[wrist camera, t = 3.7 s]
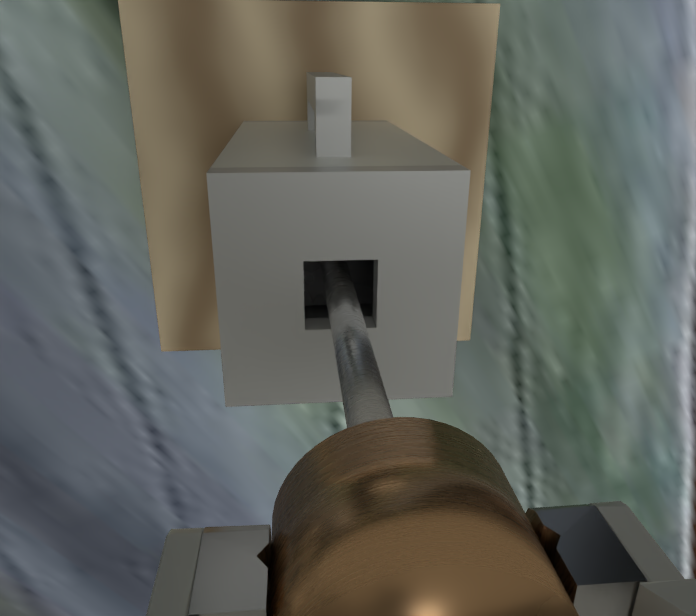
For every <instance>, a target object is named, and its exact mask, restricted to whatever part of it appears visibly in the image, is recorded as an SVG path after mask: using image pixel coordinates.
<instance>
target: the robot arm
mask: <svg viewBox="0 0 696 616" xmlns="http://www.w3.org/2000/svg"><path fill="white" fill-rule="evenodd" d="M525 514H526V516H527V518H528V520H529V521H530V523H531V525H532V527H533V529H534V531H535V533H536V535H537V537H538V539H539V540H540V542H541V544H542V546H543V548H544V550H545V552H546V554H547V556H548V558H549V559H550V561H551V563H552V565H553V567H554V569H555V571H556V573H557V575H558V577H559V578H560V580H561V582H562V584H563V586H564V588H565V590H566V592H567V594H568V596H569V597H570V599H571V601H572V603H573V605H574V607H575V609H576V611H577V613H578V614H579V616H696V579H684V577H683V576H682V575H681V574H680V572H679V571H678V570H677V568H676V567H675V566H674V565H673V563H672V562H671V561H670V559H669V558H668V557H667V556H666V554H665V553H664V552H663V551H662V549H661V548H660V547H659V545H658V544H657V543H656V542H655V540H654V539H653V538H652V536H651V535H650V534H649V533H648V531H647V530H646V529H645V527H644V526H643V525H642V524H641V522H640V521H639V520H638V518H637V517H636V516H635V515H634V513H633V512H632V511H631V509H630V508H629V507H628V506H627V505H626V504H624V503H623V502H621V501H614V502H601V503H590V504H588V505H587V504H582V505H568V506H554V507H540V508H528V510H527V512H526V513H525ZM271 551H272V540H271V528H270V525H250V526H224V527H205V528H190V529H171V530H170V532H169V533H168V535H167V536H166V539H165V543H164V547H163V551H162V555H161V559H160V563H159V567H158V571H157V575H156V579H155V583H154V587H153V590H152V594H151V598H150V602H149V606H148V610H147V614H146V616H270V579H271Z"/></svg>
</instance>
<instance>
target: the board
mask: <svg viewBox="0 0 696 616" xmlns="http://www.w3.org/2000/svg"><path fill="white" fill-rule="evenodd" d="M118 5H119V13H120V21H121V29H122V37H123V45H124V54H125V62H126V70H127V78H128V86H129V94H130V102H131V110H132V118H133V126H134V134H135V142H136V150H137V158H138V166H139V174H140V182H141V191H142V199H143V207H144V215H145V223H146V231H147V239H148V247H149V255H150V263H151V271H152V279H153V287H154V295H155V303H156V311H157V320H158V328H159V336H160V344H161V351H188V350H216V349H221V345H220V333H219V321H218V308H217V296H216V284H215V272H214V260H213V248H212V236H211V224H210V212H209V199H208V187H207V175H206V173H207V172H208V170H209V169H210V167H211V166H212V165H213V163H214V162H215V160H216V159H217V158H218V156H219V155H220V153H221V152H222V151H223V149H224V148H225V146H226V145H227V144H228V142H229V141H230V140H231V138H232V137H233V135H234V134H235V133H236V131H237V130H238V128H239V127H240V126H241V124H242V123H243V121H307V76H306V72H333V73H337V74H341V75H345V76H349V77H352V90H351V120H387V121H388V122H390V123H392V124H393V125H395V126H397V127H399V128H400V129H402V130H404V131H405V132H407V133H409V134H410V135H412V136H414V137H415V138H417V139H419V140H420V141H422V142H424V143H425V144H427V145H429V146H430V147H432V148H434V149H435V150H437V151H439V152H441V153H442V154H444V155H446V156H447V157H449V158H451V159H452V160H454V161H456V162H457V163H459V164H461V165H462V166H464V167H466V168H467V169H469V170H471V171H470V183H469V196H468V208H467V221H466V233H465V245H464V258H463V270H462V283H461V295H460V307H459V320H458V332H457V341H465V340H470V335H471V324H472V312H473V301H474V290H475V279H476V268H477V257H478V246H479V234H480V223H481V212H482V201H483V190H484V179H485V167H486V156H487V145H488V134H489V123H490V112H491V101H492V89H493V78H494V67H495V56H496V45H497V34H498V23H499V11H500V4H486V3H415V2H345V1H274V0H118Z"/></svg>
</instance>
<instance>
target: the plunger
mask: <svg viewBox="0 0 696 616" xmlns="http://www.w3.org/2000/svg"><path fill="white" fill-rule="evenodd" d="M303 270H304V306H308V305H327V308H328V314H329V320H330V326H331V333H332V339H333V345H334V351H335V357H336V363H337V369H338V375H339V381H340V387H341V393H342V399H343V405H344V412H345V418H346V424H347V429H344V430H342V431H340V432H338V433H336V434H334V435H332V436H330V437H329V438H327V439H325V440H324V441H322V442H320V443H319V444H318V445H316V446H315V447H314V448H313V449H311V450H310V451H309V452H308V453H306V454H305V455H304V456H303V457H302V458H301V459H300V460H299V461H298V462H297V463H296V465H295V466H294V467H293V468H292V470H291V471H290V473H289V474H288V475H287V477H286V478H285V480H284V482H283V484H282V486H281V488H280V490H279V492H278V495H277V498H276V501H275V505H274V510H273V515H272V551H271V579H270V616H579V614H578V613H577V611H576V609H575V607H574V605H573V603H572V601H571V599H570V597H569V596H568V594H567V592H566V590H565V588H564V586H563V584H562V582H561V580H560V578H559V577H558V575H557V573H556V571H555V569H554V567H553V565H552V563H551V561H550V559H549V558H548V556H547V554H546V552H545V550H544V548H543V546H542V544H541V542H540V540H539V539H538V537H537V535H536V533H535V531H534V529H533V527H532V525H531V523H530V521H529V520H528V518H527V516H526V514H525V512H524V510H523V508H522V506H521V504H520V503H519V501H518V499H517V497H516V495H515V493H514V491H513V489H512V487H511V485H510V484H509V482H508V480H507V478H506V476H505V474H504V472H503V470H502V468H501V466H500V465H499V463H498V462H497V460H496V459H495V457H494V456H493V455H492V453H491V452H490V451H489V450H488V449H487V448H486V447H485V446H484V445H483V444H482V443H480V442H479V441H478V440H476V439H475V438H474V437H472V436H471V435H469V434H467V433H466V432H464V431H462V430H460V429H458V428H456V427H453V426H451V425H448V424H445V423H442V422H438V421H434V420H430V419H422V418H414V417H394V418H393V415H392V411H391V408H390V405H389V401H388V398H387V395H386V391H385V388H384V385H383V381H382V378H381V375H380V371H379V368H378V365H377V361H376V358H375V354H374V351H373V348H372V344H371V341H370V338H369V334H368V331H367V328H366V324H365V321H364V318H363V314H362V311H361V308H360V304H373V275H374V260H337V261H303Z"/></svg>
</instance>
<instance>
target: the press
mask: <svg viewBox="0 0 696 616" xmlns="http://www.w3.org/2000/svg"><path fill="white" fill-rule="evenodd" d="M306 76H307V121H243V123H242V124H241V126H240V127H239V128H238V130H237V131H236V133H235V134H234V135H233V137H232V138H231V140H230V141H229V142H228V144H227V145H226V146H225V148H224V149H223V151H222V152H221V153H220V155H219V156H218V158H217V159H216V160H215V162H214V163H213V165H212V166H211V167H210V169H209V170H208V172H207V173H206V175H207V187H208V199H209V212H210V224H211V236H212V248H213V260H214V272H215V284H216V296H217V308H218V321H219V333H220V345H221V357H222V369H223V381H224V393H225V405H226V407H232V406H254V405H277V404H299V403H322V402H343V399H342V393H341V387H340V381H339V375H338V369H337V363H336V357H335V351H334V345H333V339H332V333H331V326H330V320H329V314H328V308H327V305H308V306H304V270H303V261H337V260H374V275H373V304H360V308H361V311H362V314H363V318H364V321H365V324H366V328H367V331H368V334H369V338H370V341H371V344H372V348H373V351H374V354H375V358H376V361H377V365H378V368H379V371H380V375H381V378H382V381H383V385H384V388H385V391H386V395H387V398H388V400H389V399H412V398H434V397H452V394H453V382H454V369H455V357H456V345H457V332H458V320H459V307H460V295H461V283H462V270H463V258H464V245H465V233H466V221H467V208H468V196H469V183H470V171H471V170H469V169H467V168H466V167H464V166H462V165H461V164H459V163H457V162H456V161H454V160H452V159H451V158H449V157H447V156H446V155H444V154H442V153H441V152H439V151H437V150H435V149H434V148H432V147H430V146H429V145H427V144H425V143H424V142H422V141H420V140H419V139H417V138H415V137H414V136H412V135H410V134H409V133H407V132H405V131H404V130H402V129H400V128H399V127H397V126H395V125H393V124H392V123H390V122H388V121H387V120H351V90H352V77H349V76H345V75H341V74H337V73H333V72H306Z"/></svg>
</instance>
